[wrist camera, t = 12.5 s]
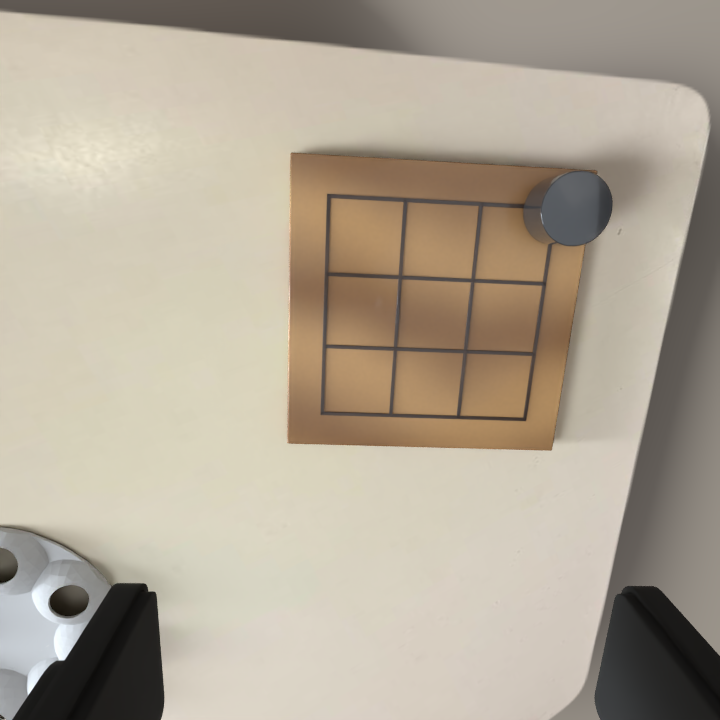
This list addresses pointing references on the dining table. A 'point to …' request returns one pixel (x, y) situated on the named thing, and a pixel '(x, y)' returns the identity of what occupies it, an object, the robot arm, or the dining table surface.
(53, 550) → the round palette
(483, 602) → the dining table surface
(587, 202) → the grey metallic short cylinder
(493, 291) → the game board
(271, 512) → the dining table surface
